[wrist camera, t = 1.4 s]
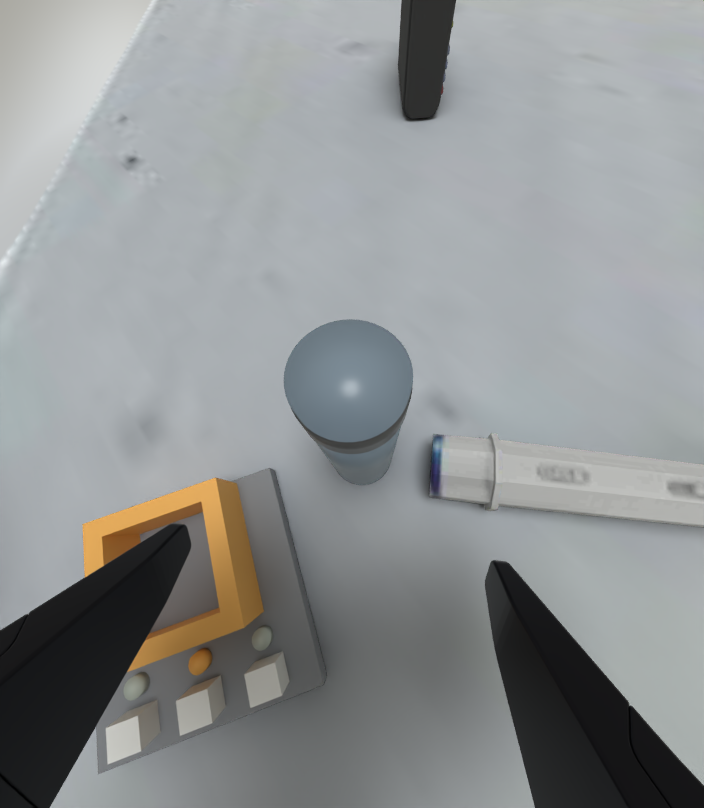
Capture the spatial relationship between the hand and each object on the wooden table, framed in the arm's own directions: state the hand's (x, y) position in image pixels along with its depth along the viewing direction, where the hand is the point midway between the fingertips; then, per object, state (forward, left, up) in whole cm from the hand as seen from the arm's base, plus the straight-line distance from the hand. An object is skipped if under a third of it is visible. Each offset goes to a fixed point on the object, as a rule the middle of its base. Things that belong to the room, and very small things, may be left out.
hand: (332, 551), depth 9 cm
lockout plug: (+5, -2, -12) cm, 13 cm away
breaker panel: (0, +10, -12) cm, 15 cm away
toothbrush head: (-3, -17, -12) cm, 21 cm away
